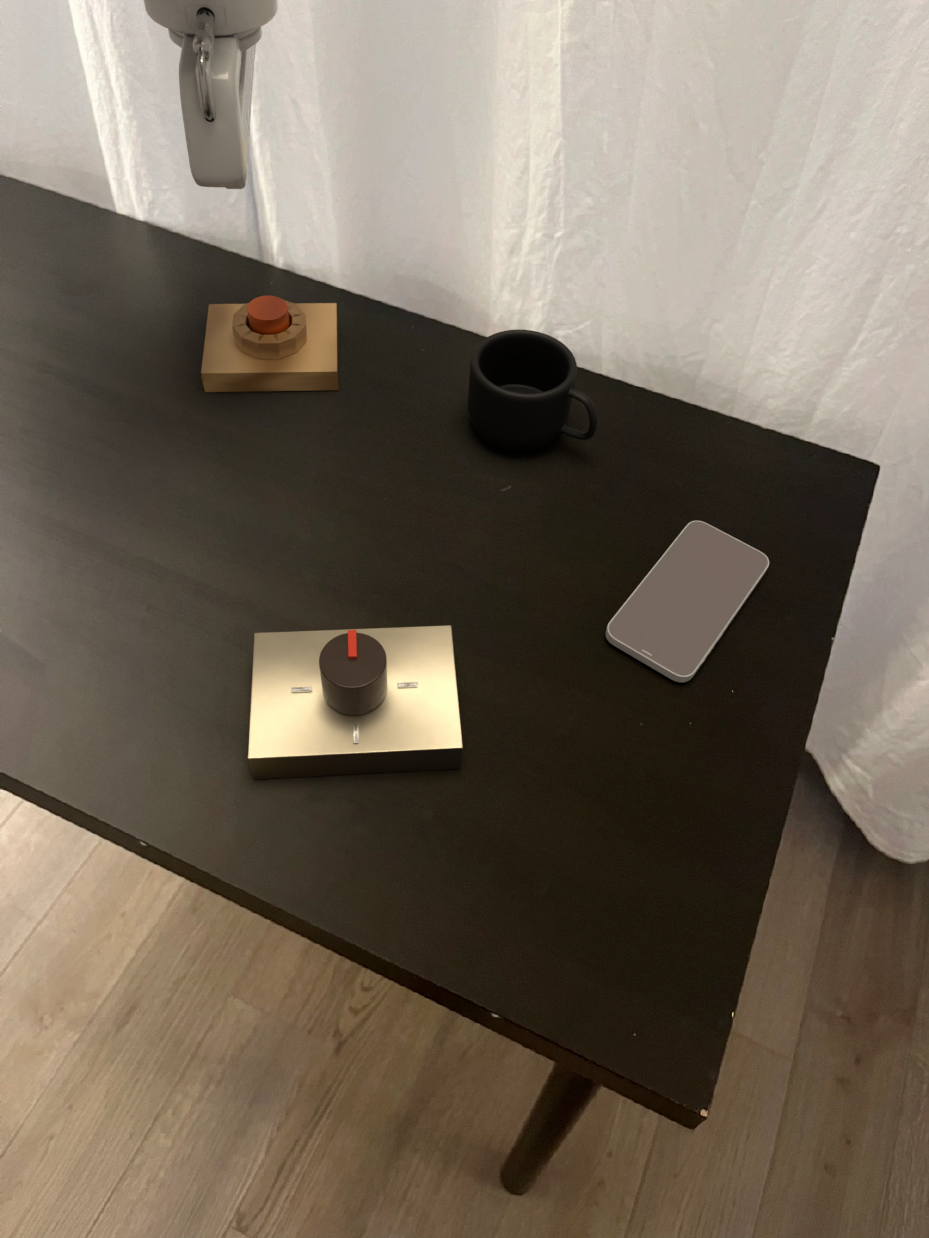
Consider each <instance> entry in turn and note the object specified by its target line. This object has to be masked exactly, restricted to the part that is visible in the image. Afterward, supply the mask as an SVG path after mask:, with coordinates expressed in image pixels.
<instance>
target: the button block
mask: <svg viewBox="0 0 929 1238" xmlns="http://www.w3.org/2000/svg"><path fill="white" fill-rule="evenodd" d="M283 300H284V301H285V302H286V303H287V306H288V313H289V322H290V323H289V327H288V328H287V330H286V331H284V332H281V333H279V334H276V335H261V334H258V333H255V332H254V331H252V329H251V328H250V325H249V319H248V312H247V306H248V304H249V303H250V302H247V303H208V309H207V318H206V326H205V336H204V343H203V352H202V360H201V369H200V375H201V380H202V385H203V390H204V393H247V392H249V393H252V392H255V393H256V392H303V391H304V392H305V391H306V392H309V391H312V392H313V391H314V392H315V391H339V320H338V305H337V304H338V303H337V302H327V303H326V302H320V303H319V302H310V303H308V302H307V303H306V302H305V303H302V302H301V303H300V302H299V303H298V302H297V303H295V302H291V301H289V300H285V299H283Z"/></svg>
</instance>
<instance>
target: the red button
mask: <svg viewBox="0 0 929 1238" xmlns="http://www.w3.org/2000/svg"><path fill="white" fill-rule="evenodd" d="M284 300H285V299H283V298H281V297H279V296H276V295H261V296H258V297H255V298H253V299H251V300H250V301H249V302H248V303H249V304H248V306H247V312H248V319H249V325H250V328H251V329H252V331H254V332H255V333H258V334H261V335H276V334H279V333H281V332H284V331H286V330H287V328H288V327H289V323H290V322H289V313H288V306H287V303H286V302H285V301H286V300H285V301H284Z"/></svg>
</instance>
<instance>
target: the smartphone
mask: <svg viewBox="0 0 929 1238" xmlns="http://www.w3.org/2000/svg"><path fill="white" fill-rule="evenodd" d="M769 565H770V560H769V557H768V556H767V554H765V553H764V552H762V551H760V550H759V549H757V548H756V547H753V546H751V545H749V544H747V543H745V542H744V541H742V540H740V539H738V538H736V537H734V536H732V535H730V534H729V533H726V532H724V531H723V530H721V529H719V528H717V527H715V526H713V525H711V524H709V523H707V522H705V521H702V520H691V521H690V522H688V523H687V524H686V526H684V528H683V529H682V530H681V531H680V533H678V535H677V536H676V537H675V539H674V540H673V541H672V543H671V544H670V545H669V546H668V547H667V549H666V551H664V553H662V556H661V557H660V558H659V559H658V560H657V562H656V563H655V564H654V565H653V567H651V569H650V571H649V572H648V573H647V574H646V575H645V576H644V578H643V579H642V580H641V582H640V583H639V584H638V585H637V586H636V588H635V589H634V590H633V592H632V593H631V594H630V595H629V597H628V598H627V599H626V601H624V602H623V604H622V605H621V606H620V608H619V609H618V610H617V612H616V613H615V614H614V615H613V617H612V618H611V620H610V621H609V622H608V624H607V626H606V630H605V639H606V640H607V641H608V643H609V644H611V645H612V646H614V647H616V648H617V649H619V650H620V651H622V652H624V653H625V654H627V655H629V656H630V657H632V658H634V659H636V660H638V661H639V662H641V663H642V664H644V665H646V666H647V667H648V668H649V667H650V668H651V669H652V670H654V671H656V672H658V673H659V674H661V675H662V676H665V677H667V678H668V679H670V680H671V681H673V682H677V683H687V682H689V681H690V680H692V679H693V678H694V676H695V675H696V673H697V672H698V670H699V669H700V668H701V666H702V665H703V663H705V661H706V659H707V657H708V656H709V655H710V653H711V652H712V650H713V649H714V648H715V646H716V644H717V643H718V642H719V640H720V639H721V637H723V635H724V633H725V632H726V630H727V629H728V627H729V626H730V625H731V623H732V621H734V618H735V617H736V616H737V614H738V613H739V612H740V610H741V609H742V607H743V605H744V604H745V603H746V601H748V598H749V597H750V595H751V594H752V592H753V591H754V590H755V588H757V585H758V584H759V583H760V581H761V580H762V579H763V577H764V576H765V574H766V572H767V570H768V568H769Z"/></svg>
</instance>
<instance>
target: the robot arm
mask: <svg viewBox="0 0 929 1238" xmlns="http://www.w3.org/2000/svg"><path fill="white" fill-rule="evenodd" d="M143 3H144V8H145V11H146V14H147V15H148V16H149V17H150V19H151V20H152V21H154V22H155V23H156V24H158V25H159V26H161V27H163V28H165V29H167V31H168V36H169V39H170V40H171V42H172V43H174V44H175V45H177V46H178V47H179V48H181V50H180V56H179V62H178V85H179V87H178V88H179V99H180V106H181V114H182V122H183V129H184V136H185V143H186V150H187V157H188V163H189V169H190V173H191V176H192V179H193V180H194V182H195V184H196V185H197V186H199V187H204V188H225V189H226V190H242V189H244V188H245V187H246V185H247V184H246V183H247V176H248V175H247V173H248V161H249V160H248V159H249V147H250V132H251V131H250V130H251V118H252V117H251V116H252V100H253V86H254V72H255V71H254V70H255V62H256V61H255V60H256V50H257V49H256V46H257V43H259V42H260V40H261V38H262V35H263V31H262V27H264V26H265V25H266V24H268V23H270V21H272V20H273V19H274V18H275V16H276V14H277V13H278V10H279V9H278V7H279V4H278V0H143Z"/></svg>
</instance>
